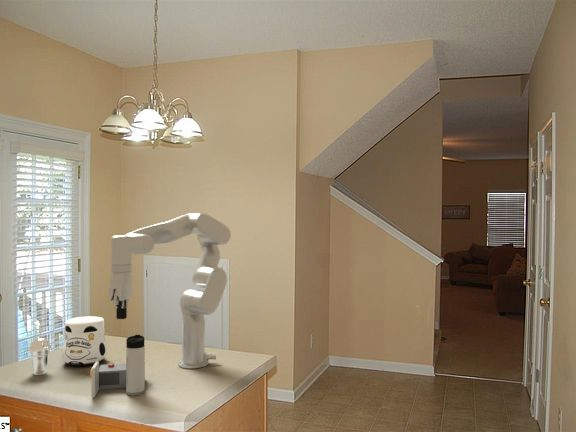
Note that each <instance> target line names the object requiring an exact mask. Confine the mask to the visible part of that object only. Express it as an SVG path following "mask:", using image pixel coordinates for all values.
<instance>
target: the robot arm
mask: <svg viewBox="0 0 576 432" xmlns="http://www.w3.org/2000/svg"><path fill="white" fill-rule="evenodd" d="M193 234H196V238H197V240H198V243H199V246H200V249H201V251H200V257H199V259H198V262H197V264H196V266H195V269H194V272H193V274H192V279H191V281H192V284H193V285H194V286H196V287H198V288H202V289H204V290H202V289H196V288H195V289H194V288H191V289H190V288H189V289H187V290H184V291H183V292H182V294H181V296H180V297H179V307H180V312H181V322H182V324H181V326H182V328H181V359H180V360H179V361H178V362H177V363H178V364H177V365H178V367H180V368H183V369H192V370H193V369H200V368H203V367H204V368H205V367H206V366H208V365H209V362H210V361H209V360H217V355H216V354H213V353H206V318H205V316H211V315H213V314H214V313H215V312H216V311H217V309H218V308H219V306H220V302H221V300H222V297H223V295H224V291H225V289H226V286H227V281H228V276H227V273H226V271H225V270H224V269H223V268H221V267H218V266H219V263H220V261H221V252H220V248H219V246H224V245H226V244H228V243H229V242H230V240H231V236H232V235H231V234H232V233H231V231H230V228H229V227H228V226H227V225H226V224H224V223H223V222H221V221H219V220H217V218H214V217H212V216H211V215H209V214H207V213H204V212H200V213H199V212H191V213H186V214H182V215H180V216H177V217H175V218H172V219H170V220H167V221H165V222H164V221H163V222H160V223H156V224H153V225H149V226H145V227H142V228H139V229H136V230H133V231H132V232H128V233H126V234H124V235H123V234H121V235H120V234H119V235H118V234H117V235H112V236H111V238H110V278H109V287H108V300H109V301H111V302H112V301H113V306H115V310H116V312H115V313H116V316H115V317H116V319H117V320H125V319H127V318H128V317H127V316H128V313H127V311H128V310H127V309H128V302H129V301H130V298H131V297H132V295H133V278H132V277H133V276H132V274H133V255H135V254H136V255H147V254H149V253H151V252H152V251H153V250H154V249H155V245H160V244H169V243H173V242H176V241H178V240H180V239H183V238H185V237H188V236H190V235H193Z"/></svg>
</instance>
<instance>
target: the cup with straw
mask: <svg viewBox="0 0 576 432" xmlns="http://www.w3.org/2000/svg"><path fill="white" fill-rule="evenodd" d="M31 323H32V324H34V325H36V326H38V327H39V334H38V335H39V336H38V337H39V338H35V339H33V340H32V341H31V344H30V346H29V347H28V349H27V351H29V352H30V356H31V363H32V372H33V375H35V376H39V375H40V376H41V375H45V374H47V369H48V363H49V355H50V351H51V349H52V348H53V347H52V344H50V341H49V340H47V339H46V338H44V337H42V325H41V324H39V323H38V322H35V321H34V320H32V321H31Z"/></svg>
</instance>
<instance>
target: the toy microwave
mask: <svg viewBox="0 0 576 432" xmlns="http://www.w3.org/2000/svg"><path fill="white" fill-rule="evenodd" d="M125 388H126V363H113V362H112V363H108V364H100V365H99V390H111V389H113V390H114V389H125Z"/></svg>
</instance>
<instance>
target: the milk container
mask: <svg viewBox="0 0 576 432" xmlns="http://www.w3.org/2000/svg"><path fill="white" fill-rule="evenodd" d="M106 343H107V342H106V340H105V319H104V318H103V317H101V316H93V315H92V316H79V317H77V316H76V317H73V318H70V319H67V320H66V321H65V322H64V345H63V349H62V359H63V361H64V363H65V364H68V365H69V366H78V367H79V366H90V365H94V364H95V362H96V361H99V363H100V362H102V361H103V360H104V359H105V357H106V355H107V350H108V349H107V344H106Z"/></svg>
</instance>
